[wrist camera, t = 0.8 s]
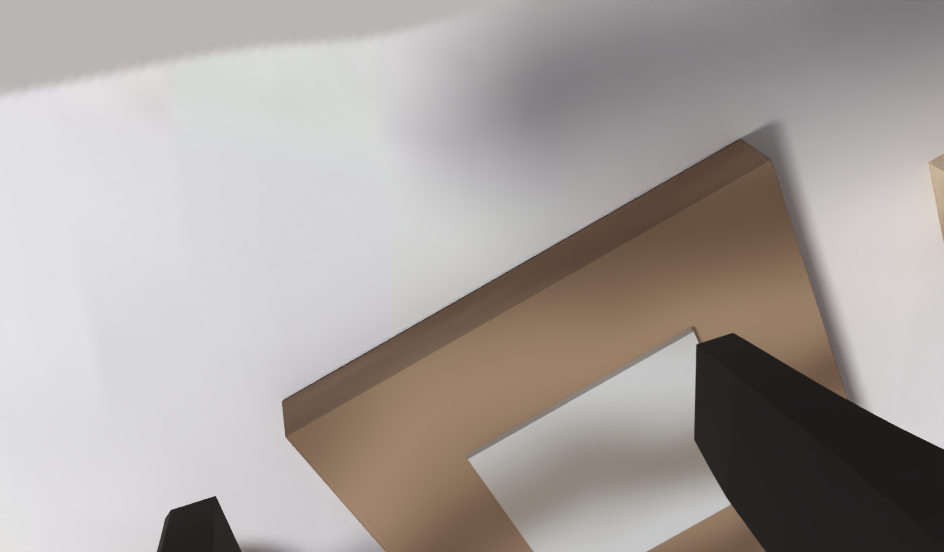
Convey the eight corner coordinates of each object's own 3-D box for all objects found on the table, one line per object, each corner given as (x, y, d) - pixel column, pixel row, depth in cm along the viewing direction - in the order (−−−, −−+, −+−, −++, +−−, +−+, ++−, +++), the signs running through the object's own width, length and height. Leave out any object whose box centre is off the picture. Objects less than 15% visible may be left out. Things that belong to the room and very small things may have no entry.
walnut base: (850, 464, 31) (881, 499, 29) (500, 660, 31) (514, 702, 30) (740, 139, 23) (775, 162, 22) (282, 401, 24) (285, 441, 22)
